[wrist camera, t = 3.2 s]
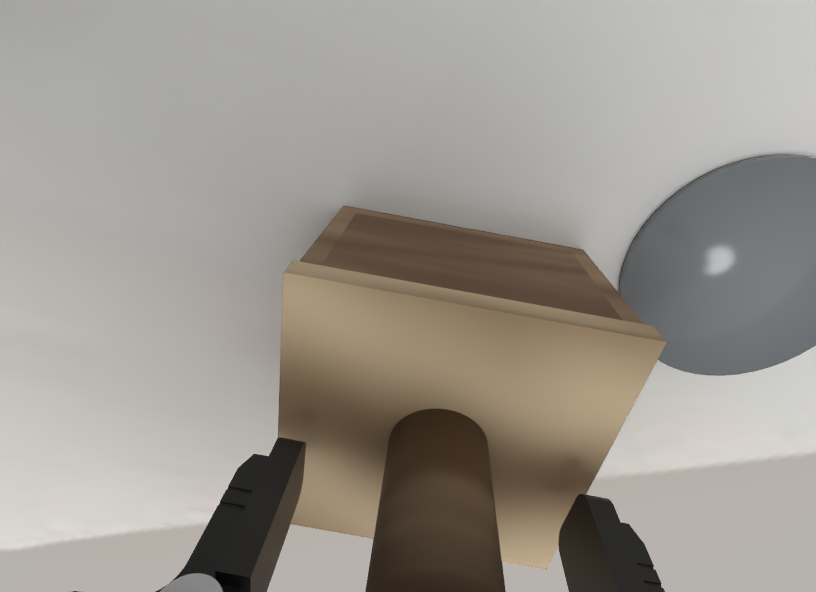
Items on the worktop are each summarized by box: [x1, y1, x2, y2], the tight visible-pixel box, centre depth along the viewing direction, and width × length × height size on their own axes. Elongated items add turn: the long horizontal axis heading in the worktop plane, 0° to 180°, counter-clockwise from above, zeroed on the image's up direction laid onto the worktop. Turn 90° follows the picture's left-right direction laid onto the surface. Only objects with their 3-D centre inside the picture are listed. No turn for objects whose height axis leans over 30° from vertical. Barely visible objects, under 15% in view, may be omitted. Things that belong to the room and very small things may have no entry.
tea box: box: [300, 206, 644, 324], centre depth 16 cm, size 10×10×6 cm
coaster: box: [619, 155, 816, 375], centre depth 17 cm, size 9×9×1 cm
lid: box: [278, 260, 667, 592], centre depth 12 cm, size 10×10×6 cm
